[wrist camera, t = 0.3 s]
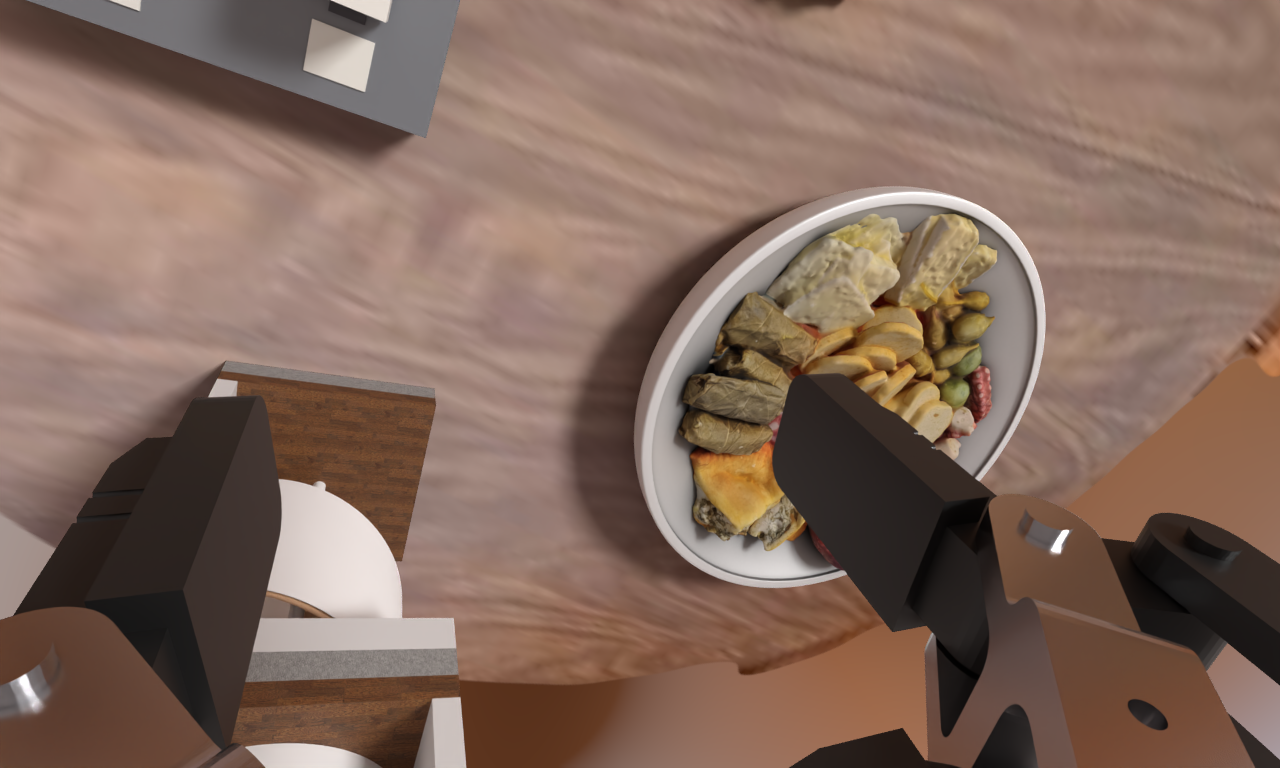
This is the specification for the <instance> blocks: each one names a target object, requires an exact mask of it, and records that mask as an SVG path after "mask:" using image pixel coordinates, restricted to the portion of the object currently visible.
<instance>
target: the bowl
mask: <svg viewBox="0 0 1280 768" xmlns="http://www.w3.org/2000/svg"><path fill="white" fill-rule="evenodd" d="M1044 340H1045V303H1044V296H1043V291H1042V286H1041V282H1040V279H1039V275H1038V272H1037V270H1036V267H1035V265H1034V262H1033V260H1032V258H1031V256H1030V254H1029V252H1028V251H1027V249H1026V247H1025V246H1024V244H1023V243H1022V241H1021V240H1020V239H1019V238H1018V236H1017V235H1016V234H1015V233H1014V232H1013V231H1012V230H1011V228H1010V227H1009V226H1008V225H1007V224H1005V223H1004V222H1003V221H1002V220H1001V219H999V218H998V217H997V216H995V215H994V214H992V213H991V212H989V211H988V210H986V209H984V208H983V207H981V206H979V205H977V204H975V203H972V202H970V201H967V200H965V199H962V198H959V197H956V196H953V195H950V194H946V193H943V192H939V191H934V190H930V189H924V188H916V187H904V186H886V187H871V188H863V189H857V190H852V191H847V192H842V193H838V194H835V195H831V196H827V197H824V198H821V199H818V200H815V201H813V202H810V203H808V204H805V205H803V206H800V207H798V208H796V209H794V210H792V211H790V212H788V213H786V214H784V215H782V216H780V217H778V218H776V219H774V220H773V221H771V222H769V223H767V224H766V225H764V226H763V227H761V228H759V229H758V230H756V231H755V232H753V233H752V234H751V235H749V236H748V237H746V238H745V239H744V240H742V241H741V242H740V243H738V244H737V245H736V246H735V247H733V248H732V249H731V250H730V251H729V252H727V253H726V254H725V255H724V256H723V257H722V258H721V259H720V260H719V261H718V262H716V263H715V264H714V265H713V266H712V267H711V268H710V269H709V270H708V271H707V273H706V274H705V275H704V276H703V277H702V278H701V279H700V280H699V281H698V282H697V284H696V285H695V286H694V287H693V288H692V290H691V291H690V292H689V293H688V295H687V296H686V297H685V298H684V300H683V301H682V303H681V304H680V305H679V307H678V308H677V310H676V311H675V313H674V314H673V316H672V317H671V319H670V321H669V322H668V324H667V326H666V327H665V329H664V331H663V333H662V335H661V337H660V338H659V340H658V343H657V345H656V347H655V349H654V351H653V353H652V356H651V358H650V361H649V363H648V366H647V369H646V372H645V375H644V378H643V381H642V385H641V389H640V393H639V397H638V402H637V408H636V416H635V425H634V453H635V462H636V470H637V474H638V479H639V483H640V487H641V490H642V494H643V496H644V499H645V502H646V504H647V507H648V509H649V511H650V513H651V515H652V517H653V519H654V521H655V523H656V525H657V527H658V528H659V530H660V532H661V533H662V535H663V536H664V538H665V539H666V540H667V542H668V543H669V544H670V545H671V546H672V547H673V548H674V550H675V551H676V552H677V553H679V554H680V555H681V556H682V557H683V558H684V559H685V560H687V561H688V562H689V563H691V564H692V565H694V566H695V567H697V568H698V569H700V570H702V571H704V572H706V573H707V574H709V575H712V576H714V577H716V578H719V579H722V580H725V581H728V582H731V583H735V584H740V585H745V586H752V587H762V588H784V587H796V586H804V585H809V584H815V583H819V582H824V581H827V580H831V579H834V578H838V577H841V576H844V575H847V573H846V572H845V571H844V570H843V568H842V567H841V566H840V564H839V563H838V562H837V561H836V559H835V558H834V557H833V555H832V554H831V553H830V552H829V550H828V549H827V548H826V547H825V545H824V544H823V543H822V541H821V540H820V539H819V538H818V536H817V535H816V534H815V532H814V531H813V530H812V529H811V527H810V526H809V525H808V523H807V522H806V521H805V520H804V518H803V517H802V516H801V515H800V513H799V512H798V511H797V509H796V508H795V507H794V506H793V504H792V503H791V502H790V500H789V499H788V498H787V497H786V495H785V494H784V493H783V492H782V490H781V489H780V487H779V486H778V484H777V482H776V479H775V476H774V473H773V466H772V455H773V449H774V445H775V441H776V437H777V433H778V429H779V425H780V421H781V417H782V413H783V409H784V405H785V401H786V397H787V393H788V389H789V386H790V384H791V382H792V380H793V379H794V378H795V377H796V376H798V375H801V374H825V373H841V374H843V375H845V376H846V377H847V378H849V379H850V380H851V381H852V382H853V383H855V384H856V385H857V386H858V387H859V388H861V389H862V390H863V391H864V392H865V393H867V394H868V395H869V396H870V397H871V398H873V399H874V400H875V401H876V402H877V403H879V404H880V405H881V406H883V407H885V408H887V409H889V410H891V411H892V412H894V413H896V414H898V415H899V416H900V417H901V418H903V419H904V420H905V421H906V422H908V423H909V424H910V425H911V426H912V427H914V428H915V429H916V430H917V431H918V435H923V436H925V437H926V438H927V439H928V440H929V441H931V442H932V443H933V444H934V445H935V446H936V450H939V449H940V450H942V451H943V452H944V453H945V454H946V455H948V456H949V457H950V458H951V459H952V460H954V461H955V462H956V463H957V464H958V465H960V466H961V467H962V468H963V469H965V470H966V471H967V472H968V473H969V474H971V475H972V476H973V477H974V478H975V479H977V480H978V481H980V480H981V479H982V477H983V476H984V475H985V474H986V472H987V471H988V470H989V469H990V467H991V466H992V465H993V463H994V462H995V461H996V459H997V458H998V456H999V455H1000V453H1001V452H1002V450H1003V449H1004V447H1005V446H1006V444H1007V443H1008V441H1009V439H1010V438H1011V436H1012V434H1013V433H1014V431H1015V429H1016V427H1017V425H1018V423H1019V421H1020V419H1021V417H1022V415H1023V413H1024V411H1025V409H1026V406H1027V404H1028V402H1029V399H1030V397H1031V394H1032V391H1033V388H1034V385H1035V382H1036V379H1037V376H1038V372H1039V368H1040V364H1041V359H1042V354H1043V347H1044Z"/></svg>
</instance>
